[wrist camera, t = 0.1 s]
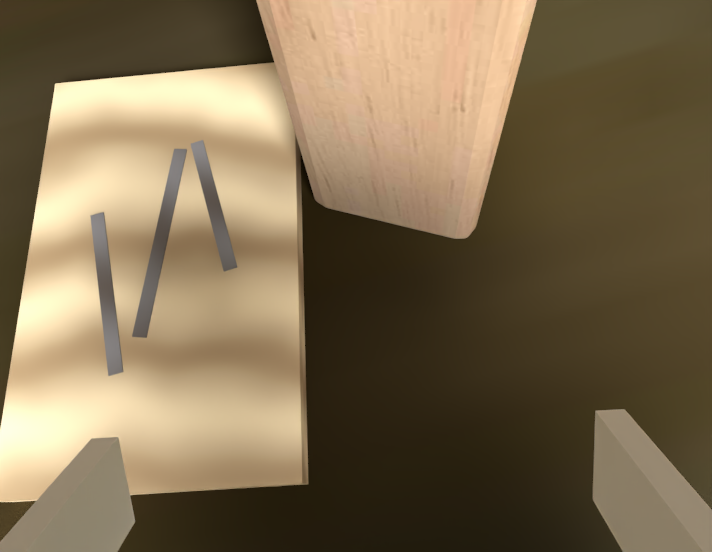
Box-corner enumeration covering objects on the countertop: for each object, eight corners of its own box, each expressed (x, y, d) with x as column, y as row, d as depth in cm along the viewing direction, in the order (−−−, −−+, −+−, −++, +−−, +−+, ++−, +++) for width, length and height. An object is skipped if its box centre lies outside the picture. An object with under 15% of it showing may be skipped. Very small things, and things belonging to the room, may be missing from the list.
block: (311, 210, 36) (215, -92, 18) (357, 82, 40) (318, -287, 21) (470, 249, 35) (547, -40, 16) (505, 112, 38) (604, -262, 19)
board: (308, 484, 31) (301, 483, 29) (13, 501, 31) (-13, 502, 30) (298, 80, 40) (293, 59, 38) (71, 102, 41) (54, 82, 39)
